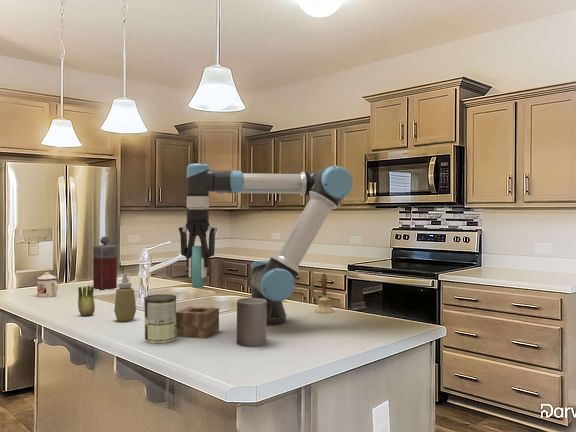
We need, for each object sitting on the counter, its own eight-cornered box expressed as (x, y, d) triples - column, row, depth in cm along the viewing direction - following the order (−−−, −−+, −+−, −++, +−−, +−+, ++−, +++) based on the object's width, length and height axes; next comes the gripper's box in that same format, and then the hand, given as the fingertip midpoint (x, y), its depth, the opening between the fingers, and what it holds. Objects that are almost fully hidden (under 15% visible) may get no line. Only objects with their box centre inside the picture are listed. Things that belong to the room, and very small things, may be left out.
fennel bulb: (76, 316, 207) (76, 286, 207) (84, 313, 212) (84, 284, 212) (88, 317, 205) (88, 287, 205) (96, 314, 210) (96, 285, 210)
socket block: (218, 330, 183) (218, 308, 182) (206, 338, 172) (206, 314, 172) (190, 328, 185) (190, 306, 185) (176, 336, 175) (176, 312, 175)
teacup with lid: (32, 296, 253) (32, 272, 253) (49, 293, 261) (48, 270, 261) (49, 298, 248) (48, 274, 247) (65, 295, 256) (65, 272, 255)
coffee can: (137, 340, 170) (137, 297, 169) (163, 334, 178) (163, 293, 177) (157, 345, 163) (156, 300, 163) (182, 338, 171) (182, 296, 171)
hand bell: (323, 314, 211) (323, 275, 211) (310, 311, 218) (310, 273, 218) (338, 312, 216) (338, 273, 216) (325, 308, 223) (325, 271, 223)
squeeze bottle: (129, 323, 195) (129, 275, 195) (110, 322, 196) (109, 274, 196) (139, 318, 203) (139, 272, 202) (121, 317, 204) (120, 272, 204)
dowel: (200, 287, 176) (200, 246, 176) (189, 287, 177) (189, 246, 177) (205, 286, 180) (205, 246, 180) (194, 285, 181) (194, 245, 181)
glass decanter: (106, 286, 287) (106, 235, 286) (116, 288, 279) (116, 236, 279) (91, 288, 280) (90, 236, 280) (101, 290, 272) (101, 237, 272)
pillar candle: (230, 342, 166) (230, 296, 166) (253, 337, 173) (253, 292, 173) (249, 348, 159) (250, 300, 159) (273, 342, 166) (273, 296, 166)
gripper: (224, 209, 180) (224, 276, 180) (180, 208, 184) (180, 274, 184) (216, 208, 172) (216, 279, 173) (170, 208, 177) (170, 277, 177)
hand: (197, 276), depth 178 cm, fingers closed on dowel, 4 cm apart
